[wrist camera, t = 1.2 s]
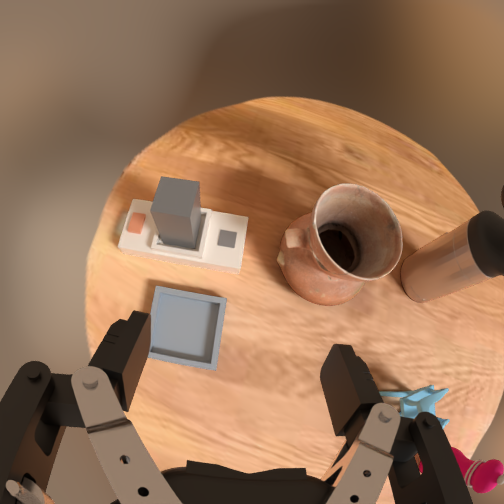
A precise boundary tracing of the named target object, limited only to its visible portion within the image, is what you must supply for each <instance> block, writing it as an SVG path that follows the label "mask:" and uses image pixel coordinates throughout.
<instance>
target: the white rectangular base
mask: <svg viewBox="0 0 504 504" xmlns="http://www.w3.org/2000/svg"><path fill="white" fill-rule="evenodd" d="M152 203H153V201H146V200H139V199H133V200H132V203H131V206H130V209H129V212H128V215H127V218H126V221H125V224H124V227H123V231H122V234H121V237H120V241H119V244H118V248H119V249H120V250H121V252H122V253H123V254H127V255H132V256H137V257H143V258H148V259H153V260H159V261H164V262H170V263H175V264H181V265H186V266H192V267H198V268H203V269H209V270H215V271H221V272H227V273H232V274H238V275H239V272H240V270H241V264H242V257H243V250H244V244H245V237H246V231H247V224H248V218H249V217H245V216H240V215H234V214H228V213H222V212H216V211H212V209H206V208H201V224H200V228H199V233H198V237H197V242H196V246H195V249H191V248H185V247H180V246H174V245H168V244H163V242H162V239H161V237H160V234H159V232H158V230H157V227H156V225H155V222H154V220H153V217H152V215H151V212H150V209H151V206H152Z"/></svg>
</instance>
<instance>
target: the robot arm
mask: <svg viewBox="0 0 504 504" xmlns="http://www.w3.org/2000/svg"><path fill="white" fill-rule="evenodd" d="M501 201H502V205H503V207H504V186H503V188H502V192H501ZM499 275H503V276H504V219H502V218H501V217H500V216H499V215H497V214H496V213H494V212H491V211H482V212H480V213H478V214H477V215H475V216H474V217H472V218H471V219H470V220H468V221H466V222H465V223H463V224H462V225H460V226H459V227H457V228H456V229H454V230H452V231H451V232H449V233H445V234H443V235H441V236H440V237H438V238H437V239H435V240H433V241H432V242H430V243H428V244H427V245H425V246H423V247H422V248H420V249H418V250H416V252H415V253H414V254H412V255H410V256H409V257H407V258H406V259H405V261H404V262H403V264H402V268H401V281H402V285H403V288H404V290H405V292H406V293H407V295H408V296H409V297H410V298H411V299H412V300H414V301H416V302H419V303H424V302H428V301H431V300H434V299H437V298H440V297H443V296H446V295H449V294H451V293H454V292H457V291H460V290H463V289H465V288H468V287H471V286H473V285H476V284H478V283H481V282H483V281H486V280H488V279H491V278H493V277H496V276H499ZM150 345H151V314H148V313H144V312H139V311H135V310H134V311H133V312H132V314H131V315H130V317H129V319H128V321H126V320H122V319H119V320H118V321H116V322H115V323H114V324H112V325H111V326H110V328H109V330H108V331H107V334H106V335H105V337H104V338H103V341H102V342H101V343H100V345H99V347H98V349H97V350H96V352H95V354H94V356H93V357H92V359H91V361H90V363H89V365H88V366H86V367H82V368H80V369H78V370H77V371H75V372H74V374H71V375H66V374H54V373H51V371H50V369H49V368H48V366H47V365H45V364H44V363H42V362H39V361H31V362H28V363H26V364H24V365H23V366H22V367H21V368H20V369H19V371H18V373H17V374H16V376H15V377H14V379H13V381H12V383H11V384H10V386H9V388H8V389H7V391H6V393H5V395H4V397H3V398H2V400H1V402H0V504H55V503H54V501H53V500H52V498H51V497H50V496H49V495H48V494H47V493H46V488H47V485H48V481H49V477H50V474H51V470H52V468H53V464H54V461H55V458H56V454H57V452H58V449H59V446H60V443H61V440H62V437H63V434H64V432H65V429H66V426H69V427H81V428H86V429H87V433H88V435H89V438H90V441H91V443H92V445H93V448H94V450H95V452H96V455H97V457H98V459H99V462H100V464H101V466H102V468H103V470H104V472H105V474H106V476H107V478H108V480H109V482H110V484H111V486H112V488H113V490H114V492H115V494H116V496H117V498H118V499H117V500H115V501H114V502H112V503H111V504H376V501H377V499H378V497H379V495H380V492H381V490H382V488H383V485H384V483H385V480H386V478H387V475H388V477H389V480H390V484H391V488H392V492H393V496H394V500H395V504H473V502H472V500H471V497H470V494H469V491H468V488H467V485H466V483H465V480H464V478H463V475H462V472H461V470H460V467H459V465H458V462H457V460H456V458H455V455H454V453H453V450H452V448H451V446H450V443H449V441H448V439H447V437H446V434H445V432H444V430H443V428H442V426H441V424H440V421H439V420H438V418H437V417H436V416H435V415H434V414H432V413H430V412H420V413H419V414H418V415H417V416H416V417H415V418H414V419H413V418H407V417H402V416H400V415H399V413H398V411H397V410H396V409H395V408H394V407H393V406H391V405H389V404H386V403H384V402H383V400H382V397H381V395H380V393H379V391H378V388H377V386H376V384H375V382H374V381H373V377H372V375H371V374H370V371H369V369H368V367H367V365H366V363H365V362H364V361H363V360H362V359H361V358H360V357H359V356H356V355H355V352H354V350H353V348H352V346H351V345H343V344H334V345H333V346H332V348H331V350H330V352H329V354H328V356H327V358H326V360H325V362H324V364H323V366H322V368H321V372H320V380H321V384H322V388H323V391H324V395H325V399H326V402H327V406H328V410H329V413H330V417H331V421H332V425H333V428H334V432H335V436H345V437H346V440H345V442H344V443H343V445H342V446H341V448H340V450H339V452H338V453H337V455H336V457H335V458H334V460H333V462H332V463H331V465H330V467H329V468H328V470H327V471H326V473H325V474H324V475H323V477H322V478H321V479H318V478H315V477H312V476H309V475H307V474H306V468H278V469H273V470H268V471H262V472H257V473H250V474H248V473H243V472H240V471H236V470H233V469H230V468H227V467H223V466H220V465H217V464H209V463H202V462H195V461H189V460H187V465H186V467H177V468H171V469H167V470H164V471H161V472H160V471H159V469H158V468H157V466H156V464H155V463H154V461H153V459H152V458H151V456H150V454H149V453H148V451H147V449H146V448H145V446H144V444H143V442H142V441H141V439H140V437H139V435H138V433H137V431H136V430H135V428H134V426H133V424H132V422H131V421H130V420H128V419H127V418H126V416H125V414H124V412H123V411H126V412H128V411H129V408H130V405H131V402H132V399H133V396H134V393H135V390H136V387H137V385H138V382H139V379H140V376H141V373H142V371H143V368H144V365H145V363H146V360H147V357H148V354H149V351H150ZM417 453H418V454H419V457H420V460H421V462H422V465H423V472H422V474H421V475H420V472H419V469H418V466H417V463H416V460H415V457H414V456H415V455H416V454H417Z"/></svg>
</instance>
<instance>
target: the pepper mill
mask: <svg viewBox="0 0 504 504" xmlns="http://www.w3.org/2000/svg"><path fill="white" fill-rule="evenodd" d="M451 448H452V450H453V453H454V455H455V458H456V460H457V462H458V465H459V467H460V470H461V472H462V475H463V478H464V480H465V483H466V485H467V486H469V487H473V490H474V491H476V492H477V493H486V492H488V491H490V490H492V489H493V488H494V487H495V486H496V485H497V484H499V485H501V484H503V483H504V474H503V470H504V468H503V464H502V463H501V462H500V461H499V460H495V459H494V460H489V461H487V462H486V461H484V460H477V461H472V460H469V459H468V458H466V457H465V456H464V454H463V453H462V452H461V451H460V450H458V449H456V448H454V447H451ZM419 470H420V472H421V473H422V472H423V465H422V462H421V461H420V465H419Z"/></svg>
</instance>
